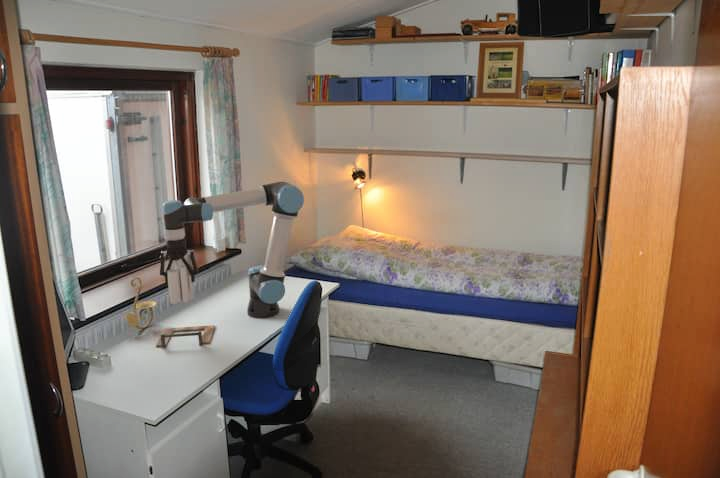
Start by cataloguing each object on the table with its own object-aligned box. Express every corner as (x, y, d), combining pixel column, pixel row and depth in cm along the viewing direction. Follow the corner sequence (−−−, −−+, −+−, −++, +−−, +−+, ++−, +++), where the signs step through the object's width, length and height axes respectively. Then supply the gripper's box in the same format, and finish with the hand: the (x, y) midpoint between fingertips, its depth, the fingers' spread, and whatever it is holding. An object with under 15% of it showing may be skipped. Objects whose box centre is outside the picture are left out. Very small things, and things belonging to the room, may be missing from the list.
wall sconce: (142, 335, 248) (135, 282, 242) (125, 333, 251) (117, 280, 245) (163, 323, 261) (157, 272, 254) (146, 321, 264) (140, 270, 257)
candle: (184, 294, 247) (180, 250, 242) (198, 295, 245) (194, 251, 239) (167, 303, 237) (163, 257, 232) (182, 305, 234) (177, 259, 229)
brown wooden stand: (215, 326, 256) (214, 314, 254) (209, 345, 237) (207, 332, 236) (165, 330, 254) (163, 317, 252) (155, 348, 235) (153, 335, 233)
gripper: (202, 234, 239) (207, 285, 244) (152, 237, 236) (157, 288, 242) (200, 239, 231) (204, 291, 237) (147, 241, 229) (153, 294, 235)
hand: (181, 289), depth 239 cm, fingers closed on candle, 8 cm apart
